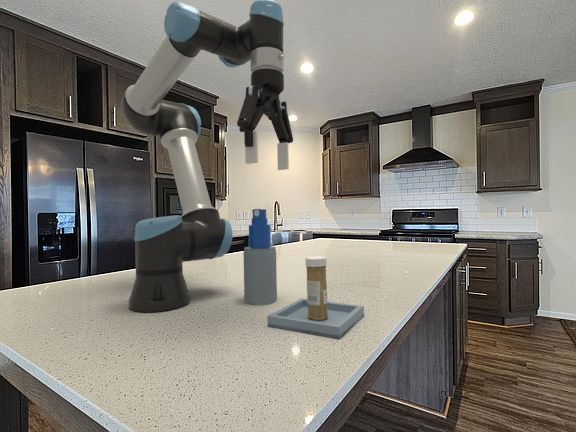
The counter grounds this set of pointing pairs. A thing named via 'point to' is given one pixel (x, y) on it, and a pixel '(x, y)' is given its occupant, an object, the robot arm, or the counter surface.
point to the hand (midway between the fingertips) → (268, 166)
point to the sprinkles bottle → (316, 287)
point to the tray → (333, 326)
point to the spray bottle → (260, 263)
